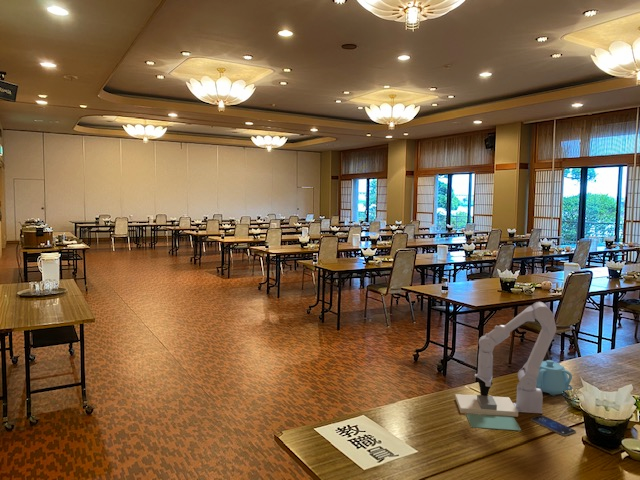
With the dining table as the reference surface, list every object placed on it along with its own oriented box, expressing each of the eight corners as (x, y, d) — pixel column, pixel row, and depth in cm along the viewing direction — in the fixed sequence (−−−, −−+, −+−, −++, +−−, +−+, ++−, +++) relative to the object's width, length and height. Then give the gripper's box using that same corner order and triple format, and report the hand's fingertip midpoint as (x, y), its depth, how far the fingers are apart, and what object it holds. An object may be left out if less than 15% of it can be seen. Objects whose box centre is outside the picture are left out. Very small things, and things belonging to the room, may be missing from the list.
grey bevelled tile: (491, 400, 200) (491, 395, 200) (496, 409, 191) (496, 405, 191) (476, 399, 201) (477, 394, 201) (481, 408, 192) (481, 404, 192)
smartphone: (564, 435, 174) (529, 418, 187) (564, 438, 174) (529, 420, 188) (577, 430, 178) (542, 414, 191) (577, 433, 178) (542, 416, 191)
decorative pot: (533, 395, 211) (534, 365, 209) (525, 382, 226) (526, 353, 225) (573, 399, 207) (575, 368, 206) (562, 385, 223) (564, 356, 222)
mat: (513, 417, 189) (513, 416, 189) (521, 430, 178) (521, 430, 178) (466, 414, 191) (466, 413, 191) (471, 427, 181) (471, 426, 181)
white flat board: (508, 401, 204) (509, 397, 204) (518, 416, 190) (518, 411, 190) (455, 398, 207) (455, 394, 206) (460, 413, 193) (460, 408, 193)
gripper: (472, 358, 208) (471, 389, 209) (478, 370, 194) (477, 403, 195) (489, 359, 207) (487, 390, 208) (496, 371, 193) (495, 404, 194)
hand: (484, 396), depth 201 cm, fingers closed
